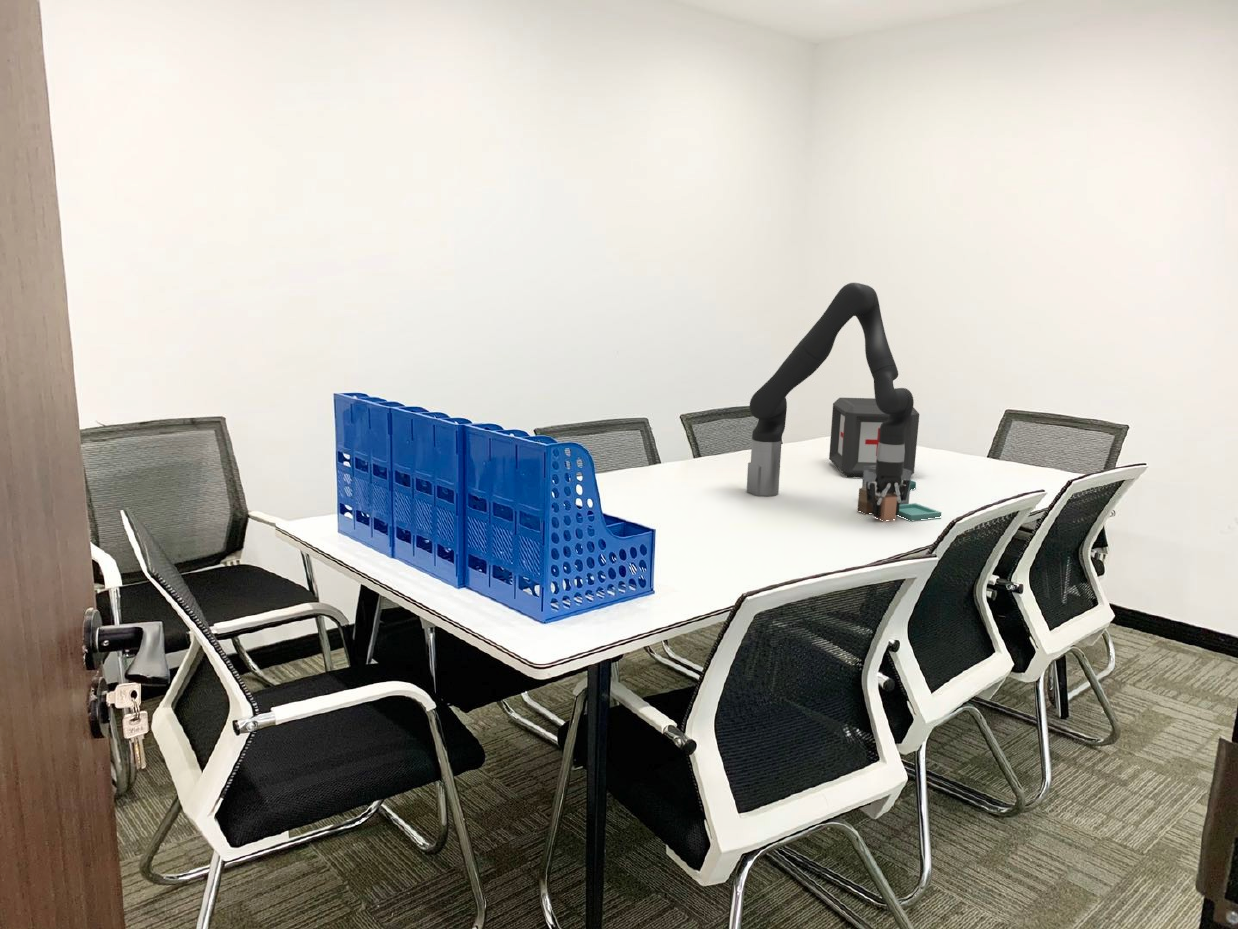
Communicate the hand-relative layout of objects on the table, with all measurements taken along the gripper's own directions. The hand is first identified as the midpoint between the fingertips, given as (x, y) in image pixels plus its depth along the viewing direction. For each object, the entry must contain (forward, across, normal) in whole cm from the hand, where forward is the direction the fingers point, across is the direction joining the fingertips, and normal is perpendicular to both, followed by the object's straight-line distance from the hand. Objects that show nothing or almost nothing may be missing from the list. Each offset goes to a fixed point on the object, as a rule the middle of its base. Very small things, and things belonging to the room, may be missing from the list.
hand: (885, 515), depth 260 cm
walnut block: (+1, 0, -8) cm, 8 cm away
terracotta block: (+1, 0, 0) cm, 1 cm away
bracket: (+2, -27, -28) cm, 39 cm away
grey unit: (+1, -12, -15) cm, 19 cm away
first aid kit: (+1, -37, -54) cm, 65 cm away
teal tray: (+1, -11, -1) cm, 11 cm away
